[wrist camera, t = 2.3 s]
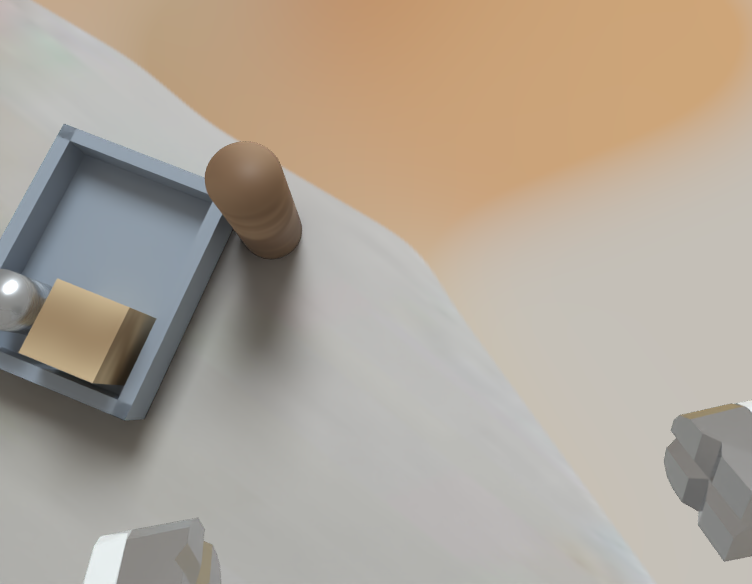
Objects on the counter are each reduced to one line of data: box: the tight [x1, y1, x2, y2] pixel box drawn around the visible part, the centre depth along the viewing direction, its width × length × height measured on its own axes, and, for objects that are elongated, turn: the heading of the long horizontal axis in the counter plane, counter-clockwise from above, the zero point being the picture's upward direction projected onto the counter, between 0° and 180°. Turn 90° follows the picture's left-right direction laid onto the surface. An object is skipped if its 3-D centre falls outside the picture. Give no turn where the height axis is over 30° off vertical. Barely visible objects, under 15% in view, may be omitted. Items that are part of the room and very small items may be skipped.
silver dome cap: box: [0, 269, 53, 336], centre depth 30 cm, size 3×3×4 cm
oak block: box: [18, 278, 157, 386], centre depth 30 cm, size 4×4×4 cm
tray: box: [0, 124, 233, 420], centre depth 32 cm, size 14×11×3 cm
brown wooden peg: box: [205, 141, 302, 259], centre depth 30 cm, size 4×4×8 cm
